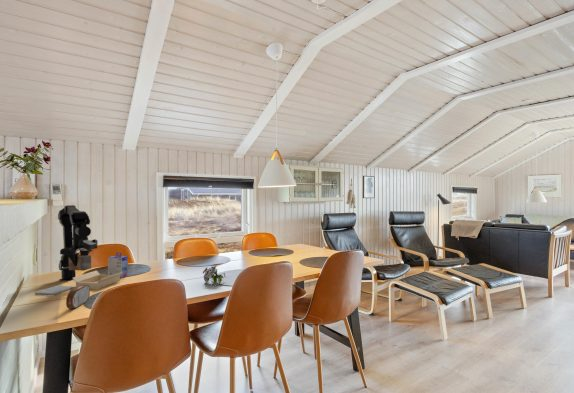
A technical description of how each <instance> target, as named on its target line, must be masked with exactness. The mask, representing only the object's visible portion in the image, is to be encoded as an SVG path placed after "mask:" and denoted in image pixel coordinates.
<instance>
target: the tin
mask: <svg viewBox="0 0 574 393" xmlns="http://www.w3.org/2000/svg"><path fill="white" fill-rule="evenodd" d="M74 287H75V288H73V289H70V290H69V292H68V293H67V295H66V300H65V305H66V308H67V309H77V308H79V307H80V306H82V305H83V304H86V303H87V302H88V300H89V298H90V294H91V289H90V287H89V285H83V284H82V285H79V286H77V287H76V286H74Z"/></svg>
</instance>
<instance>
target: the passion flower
mask: <svg viewBox="0 0 574 393" xmlns="http://www.w3.org/2000/svg"><path fill="white" fill-rule="evenodd" d="M202 274H203V277H202V278H203V280H204V281H205V282H204V284H205V285H206V284H207V283H209V282H210V280H211V279H212V280H213V285H214V286H217V284H219V285H220V284H221V283H222V281H223V279H224V278H226V272H224V273H221V274H218V268H217V264H215V265H214V266H211V267H209V268H208V267H205V268H204V270H203V271H202Z"/></svg>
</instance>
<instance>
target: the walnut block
mask: <svg viewBox="0 0 574 393" xmlns="http://www.w3.org/2000/svg"><path fill="white" fill-rule="evenodd" d="M90 269H92V255H91V254H88V255H81V254H79V255H78V256H77V266H74V264H73V263H72V261H71V259H70V258H69V270H75V271H84V272H85V271H87V270H90Z"/></svg>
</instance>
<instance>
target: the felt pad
mask: <svg viewBox="0 0 574 393" xmlns="http://www.w3.org/2000/svg"><path fill="white" fill-rule="evenodd" d="M75 287H76V286H73V285H72V286H70V285H69V286H68V285H55V286H51V287H48V288H44V289H42V290H38V291H35V292H34V295H35V294H36V295H38V296H50V297H55V296H57V295H59V294H62V293H65V292H68V291H70V290H71V289H73V288H75Z"/></svg>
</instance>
